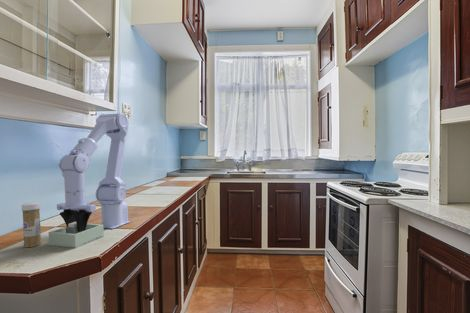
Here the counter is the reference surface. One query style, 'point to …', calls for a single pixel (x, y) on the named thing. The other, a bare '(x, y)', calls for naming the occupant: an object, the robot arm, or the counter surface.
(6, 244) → the counter surface
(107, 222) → the robot arm
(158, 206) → the counter surface
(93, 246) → the counter surface
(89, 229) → the green box
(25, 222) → the sprinkles bottle
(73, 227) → the grey plug
